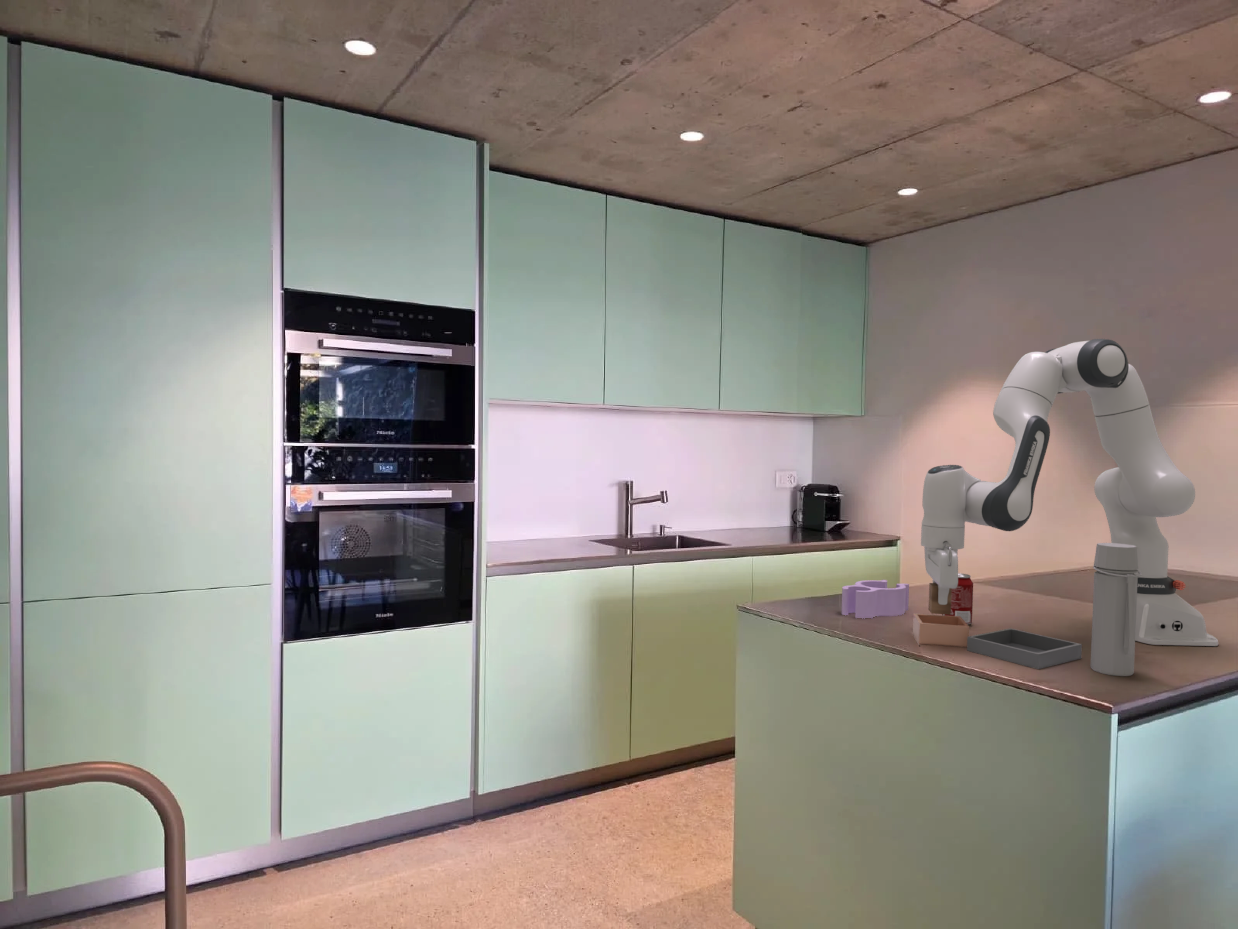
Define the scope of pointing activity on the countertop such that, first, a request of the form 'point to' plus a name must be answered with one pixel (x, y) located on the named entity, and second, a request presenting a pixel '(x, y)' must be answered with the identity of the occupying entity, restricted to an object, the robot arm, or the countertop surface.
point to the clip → (874, 599)
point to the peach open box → (940, 630)
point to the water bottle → (1114, 609)
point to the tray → (1024, 648)
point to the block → (933, 601)
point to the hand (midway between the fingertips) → (940, 601)
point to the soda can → (962, 598)
